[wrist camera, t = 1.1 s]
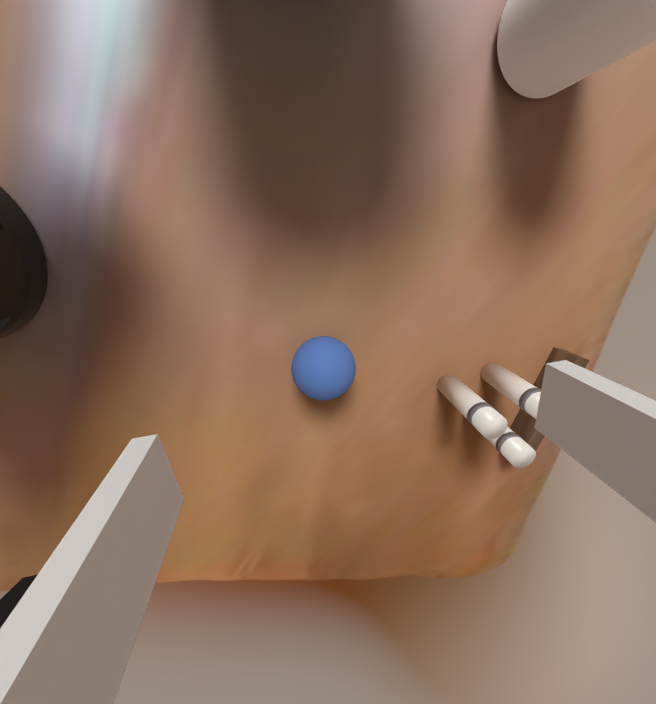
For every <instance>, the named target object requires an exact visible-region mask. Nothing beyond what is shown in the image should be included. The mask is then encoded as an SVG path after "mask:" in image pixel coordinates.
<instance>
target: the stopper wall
mask: <svg viewBox="0 0 656 704" xmlns="http://www.w3.org/2000/svg"><path fill="white" fill-rule="evenodd" d="M563 360H567V361H569V362H572V363H574V364H576V365H578V366H580V367H583V368H585V367H586V365H587V364H588V362H589V360H587V359H585V358H582V357H580V356H578V355H575V354H573V353H570V352H568V351H566V350H562V349H558V348H554V349H553V350H552V352H551V354H550V356H549V358H548V360H547V361H546V363H552V362H557V361H563ZM546 363H545V365H544V367H543V369H542V371H541V372H540V374H539V376H538V378H537V380H536V382H535V383H534V386H535V387H537V388H539V389H542V383H543V378H544V372H545V367H546ZM535 422H536V419H535V418H534V417H533V416H531V415H530V414H528V413H526V412H525V411H524V410H522V409H520V411H519V413H518V415H517V416H516V418H515V420H514V422H513V424H512V426H511V427H510V429H511V430H512V431H513V432H515V433H516V434H518V435H519V436H520V437H521V438H522V439H523V440H524V441H525V442H526V443H527V444H528V445H530V446H531V447H532V448H533V449H534V450H535V451H536V449H537V448H538V446H539V444H540V443H541V441H542V439H543V438H544V435H543V434H541V433H540V432H539V431H538V430H536V429H535V428H534V427H535Z"/></svg>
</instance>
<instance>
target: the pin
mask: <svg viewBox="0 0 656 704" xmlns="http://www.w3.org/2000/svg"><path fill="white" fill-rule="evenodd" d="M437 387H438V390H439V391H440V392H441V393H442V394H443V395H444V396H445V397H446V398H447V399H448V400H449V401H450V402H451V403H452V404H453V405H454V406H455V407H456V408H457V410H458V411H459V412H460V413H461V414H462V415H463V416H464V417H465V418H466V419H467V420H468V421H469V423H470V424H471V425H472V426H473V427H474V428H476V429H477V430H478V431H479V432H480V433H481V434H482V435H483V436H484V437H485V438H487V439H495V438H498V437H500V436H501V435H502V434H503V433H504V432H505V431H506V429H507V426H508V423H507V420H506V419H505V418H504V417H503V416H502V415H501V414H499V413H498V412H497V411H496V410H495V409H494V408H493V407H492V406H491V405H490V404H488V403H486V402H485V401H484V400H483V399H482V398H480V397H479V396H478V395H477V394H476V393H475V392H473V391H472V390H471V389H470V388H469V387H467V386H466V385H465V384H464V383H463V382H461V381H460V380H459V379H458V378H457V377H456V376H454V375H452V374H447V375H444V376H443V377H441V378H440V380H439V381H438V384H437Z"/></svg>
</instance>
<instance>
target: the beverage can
mask: <svg viewBox="0 0 656 704" xmlns="http://www.w3.org/2000/svg"><path fill="white" fill-rule="evenodd" d="M654 41H656V0H508V1H507V3H506V5H505V8H504V10H503V13H502V16H501V20H500V24H499V29H498V37H497V53H498V60H499V65H500V68H501V71H502V74H503V76H504V78H505V80H506V81H507V83H508V84H509V85H510V87H511V88H512V89H513V90H514V91H516V92H517V93H519V94H520V95H522V96H525V97H528V98H535V99H538V98H545V97H548V96H551V95H553V94H555V93H557V92H559V91H561V90H563V89H565V88H567V87H569V86H571V85H573V84H575V83H576V82H578V81H580V80H582V79H584V78H586V77H588V76H590V75H592V74H594V73H595V72H597V71H599V70H601V69H603V68H605V67H607V66H609V65H611V64H612V63H614V62H616V61H618V60H620V59H622V58H624V57H626V56H628V55H630V54H631V53H633V52H635V51H637V50H639V49H641V48H643V47H645V46H647V45H649V44H650V43H652V42H654Z"/></svg>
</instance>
